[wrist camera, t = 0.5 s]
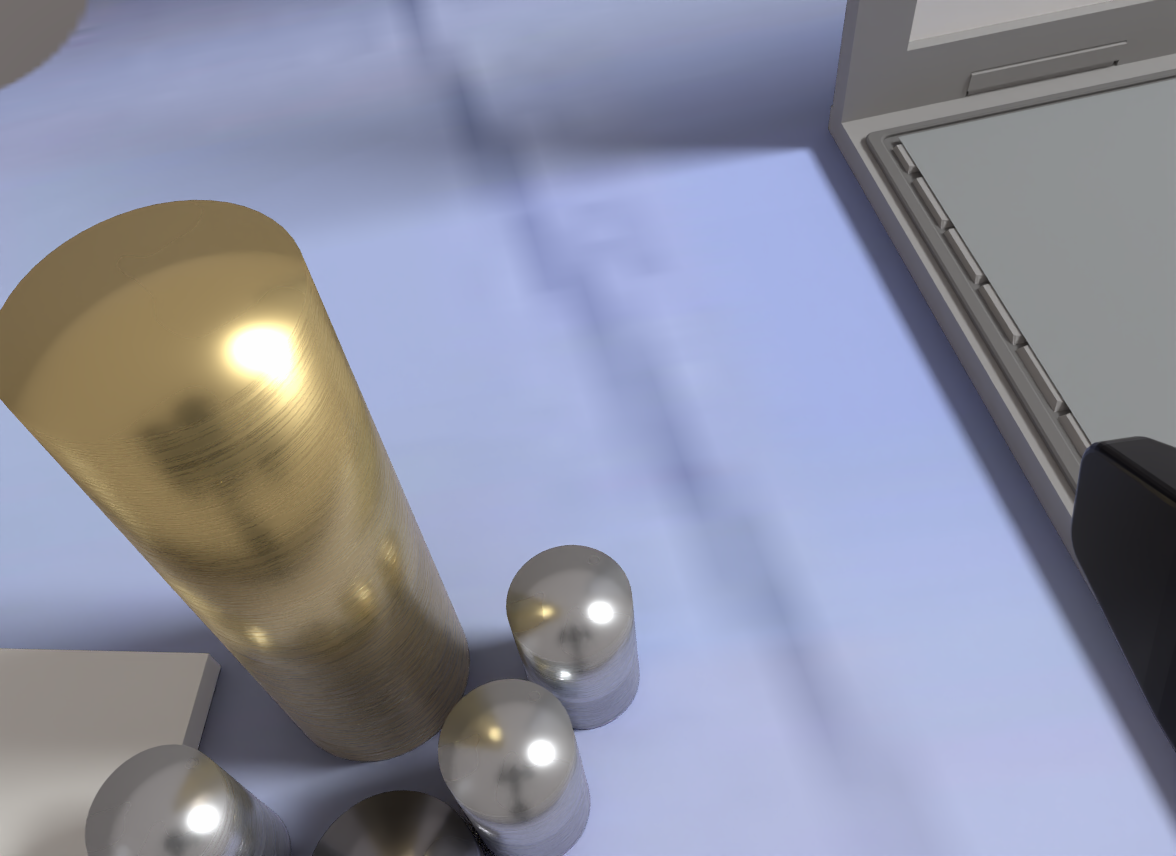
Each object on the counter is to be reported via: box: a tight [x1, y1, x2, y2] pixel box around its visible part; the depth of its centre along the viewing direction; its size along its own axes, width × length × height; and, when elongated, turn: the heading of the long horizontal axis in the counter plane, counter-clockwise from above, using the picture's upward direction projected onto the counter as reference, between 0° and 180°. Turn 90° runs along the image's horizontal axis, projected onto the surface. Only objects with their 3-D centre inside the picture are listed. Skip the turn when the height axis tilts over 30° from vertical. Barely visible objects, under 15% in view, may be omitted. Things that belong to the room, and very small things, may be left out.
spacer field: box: [85, 545, 640, 856], centre depth 21 cm, size 8×10×4 cm
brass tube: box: [0, 200, 470, 762], centre depth 19 cm, size 4×4×13 cm
